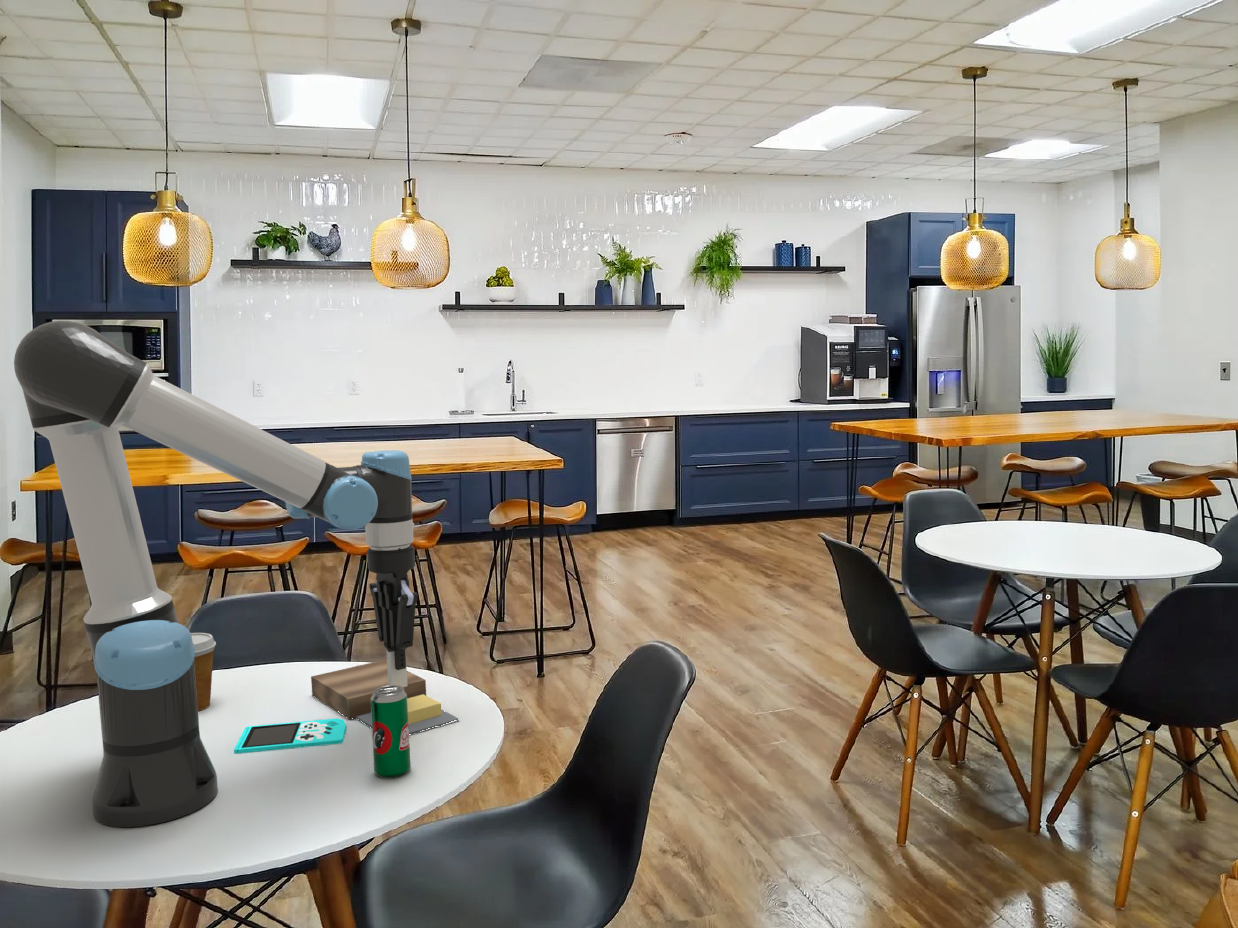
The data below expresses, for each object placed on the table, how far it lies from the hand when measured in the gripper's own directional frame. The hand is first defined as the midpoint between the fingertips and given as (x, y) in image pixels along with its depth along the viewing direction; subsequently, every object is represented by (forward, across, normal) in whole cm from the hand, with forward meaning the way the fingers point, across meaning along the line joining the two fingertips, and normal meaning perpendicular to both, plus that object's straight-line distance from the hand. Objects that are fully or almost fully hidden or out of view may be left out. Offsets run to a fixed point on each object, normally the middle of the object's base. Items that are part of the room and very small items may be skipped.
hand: (397, 686), depth 159 cm
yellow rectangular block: (+3, -3, 0) cm, 4 cm away
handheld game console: (+6, +3, +17) cm, 18 cm away
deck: (+5, +12, 0) cm, 13 cm away
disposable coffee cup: (+5, +29, +25) cm, 38 cm away
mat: (+5, -3, 0) cm, 6 cm away
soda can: (+5, -20, +11) cm, 23 cm away
